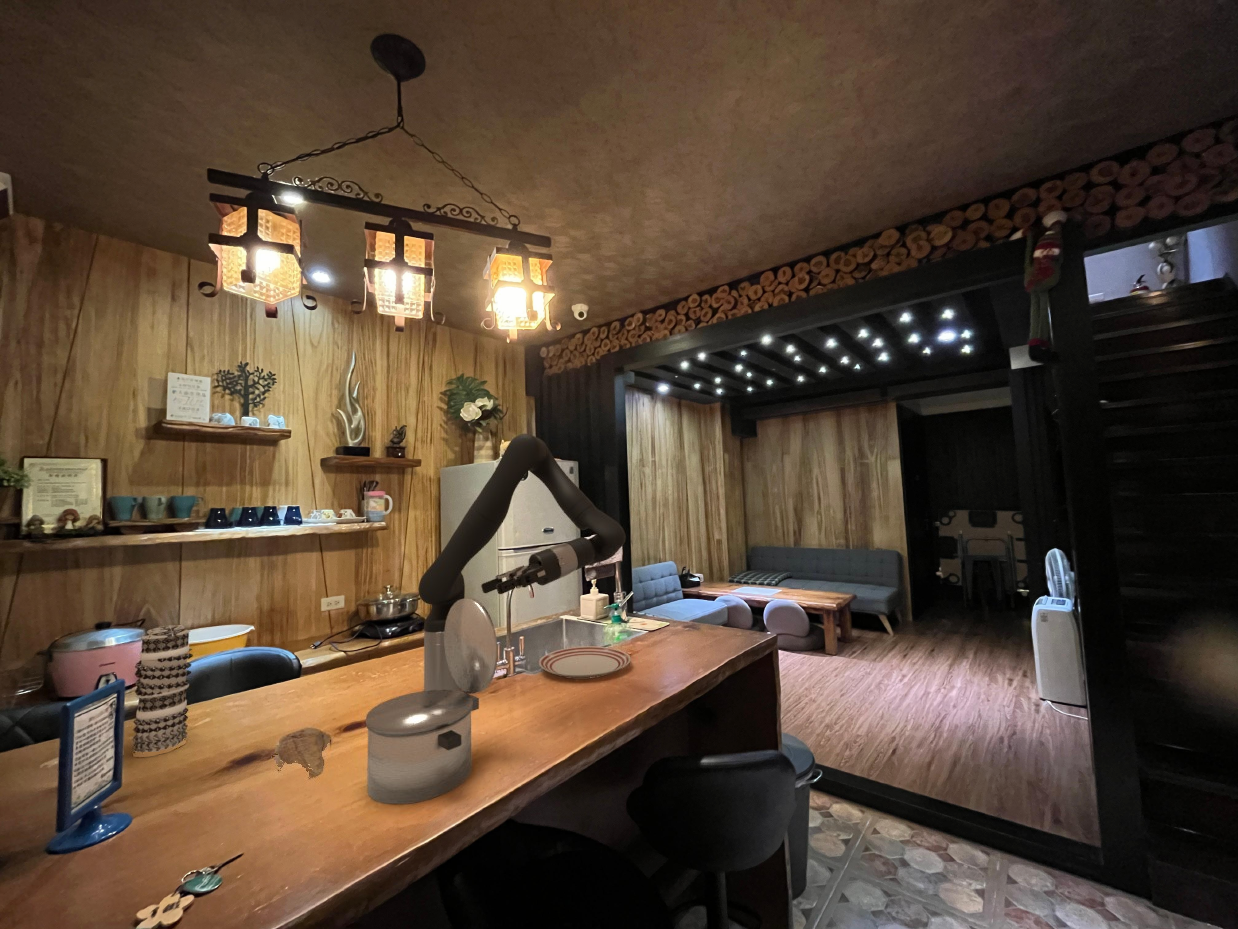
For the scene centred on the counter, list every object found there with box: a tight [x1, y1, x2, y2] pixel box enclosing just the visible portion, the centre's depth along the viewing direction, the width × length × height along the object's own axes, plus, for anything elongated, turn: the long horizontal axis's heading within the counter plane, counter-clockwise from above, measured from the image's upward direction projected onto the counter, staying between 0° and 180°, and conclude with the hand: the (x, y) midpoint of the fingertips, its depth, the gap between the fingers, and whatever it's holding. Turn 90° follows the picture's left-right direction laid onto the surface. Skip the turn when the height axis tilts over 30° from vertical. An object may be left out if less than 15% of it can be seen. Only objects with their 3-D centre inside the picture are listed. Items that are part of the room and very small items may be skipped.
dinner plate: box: [538, 645, 632, 679], centre depth 150 cm, size 27×27×3 cm
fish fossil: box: [273, 726, 331, 780], centre depth 100 cm, size 26×10×1 cm, turn 40°
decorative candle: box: [131, 624, 194, 753], centre depth 107 cm, size 9×9×25 cm
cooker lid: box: [444, 597, 499, 695], centre depth 101 cm, size 18×18×5 cm
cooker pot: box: [365, 690, 480, 805], centre depth 91 cm, size 22×19×12 cm
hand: (489, 589), depth 107 cm, fingers open, 8 cm apart
